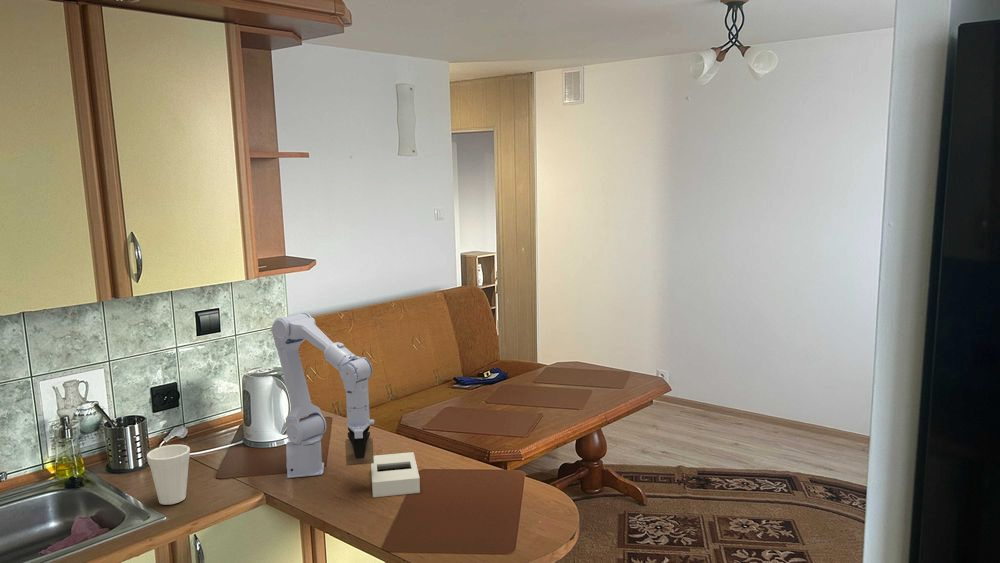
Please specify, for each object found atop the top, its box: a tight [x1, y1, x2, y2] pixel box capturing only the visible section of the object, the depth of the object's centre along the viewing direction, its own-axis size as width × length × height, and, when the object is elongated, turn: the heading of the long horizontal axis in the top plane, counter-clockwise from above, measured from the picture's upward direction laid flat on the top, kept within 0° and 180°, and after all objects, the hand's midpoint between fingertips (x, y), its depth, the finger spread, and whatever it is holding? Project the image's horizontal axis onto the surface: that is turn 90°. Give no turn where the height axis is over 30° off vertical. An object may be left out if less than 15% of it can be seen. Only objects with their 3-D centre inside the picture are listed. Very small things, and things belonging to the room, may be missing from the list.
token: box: [344, 436, 375, 467], centre depth 183 cm, size 7×3×6 cm, turn 101°
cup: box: [146, 444, 191, 505], centre depth 178 cm, size 10×10×13 cm
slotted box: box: [370, 451, 421, 498], centre depth 189 cm, size 12×18×4 cm, turn 12°
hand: (359, 455), depth 183 cm, fingers closed on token, 3 cm apart
